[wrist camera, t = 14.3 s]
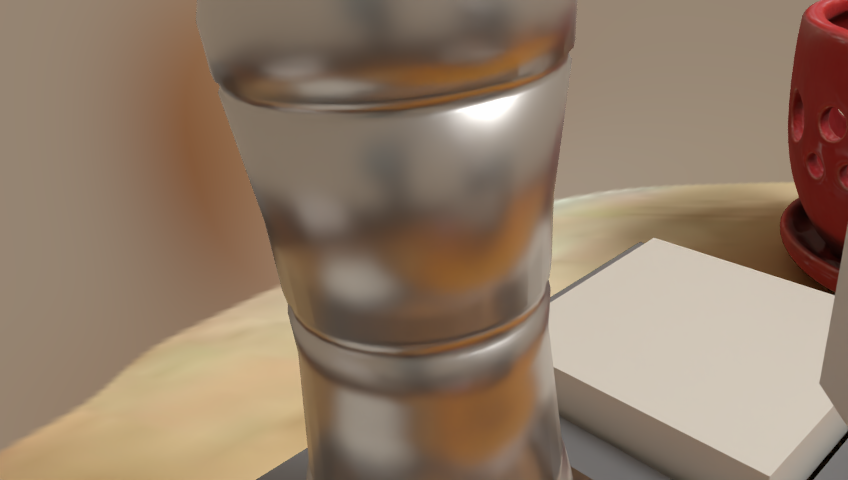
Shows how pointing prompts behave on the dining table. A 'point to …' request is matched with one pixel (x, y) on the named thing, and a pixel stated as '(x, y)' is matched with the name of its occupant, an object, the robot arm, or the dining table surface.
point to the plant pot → (819, 143)
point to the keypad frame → (583, 445)
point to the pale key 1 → (697, 366)
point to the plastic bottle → (408, 220)
